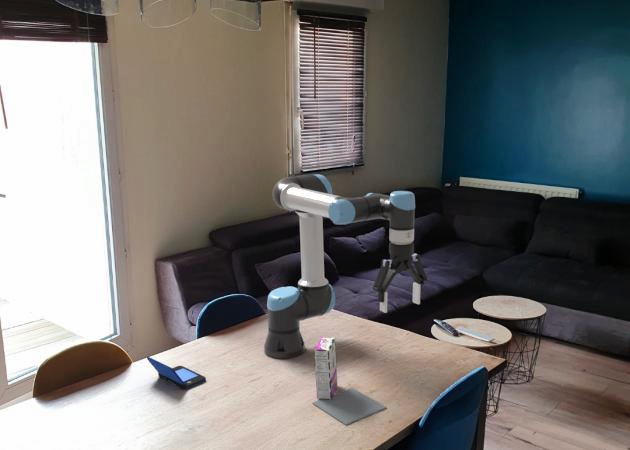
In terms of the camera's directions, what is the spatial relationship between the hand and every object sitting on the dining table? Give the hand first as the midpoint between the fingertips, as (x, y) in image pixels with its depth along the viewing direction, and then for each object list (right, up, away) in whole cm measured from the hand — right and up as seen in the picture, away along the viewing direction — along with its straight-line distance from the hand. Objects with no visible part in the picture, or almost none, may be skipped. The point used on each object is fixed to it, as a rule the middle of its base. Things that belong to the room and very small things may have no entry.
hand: (400, 307), depth 192 cm
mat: (-16, -29, -6) cm, 34 cm away
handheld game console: (-73, -27, +13) cm, 79 cm away
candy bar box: (-23, -28, +3) cm, 36 cm away
